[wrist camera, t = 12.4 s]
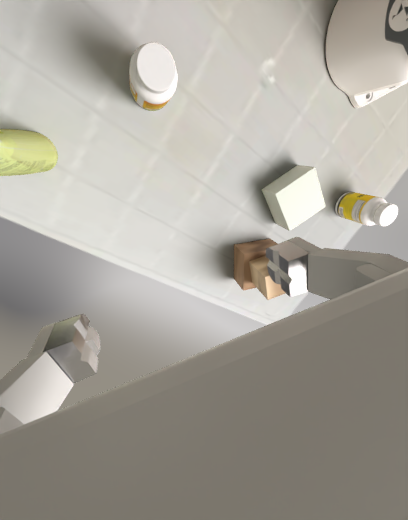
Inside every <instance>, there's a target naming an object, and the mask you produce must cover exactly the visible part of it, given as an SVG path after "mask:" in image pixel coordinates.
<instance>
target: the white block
mask: <svg viewBox="0 0 408 520" xmlns="http://www.w3.org/2000/svg"><path fill="white" fill-rule="evenodd" d="M262 192H263V195H264V197H265V199H266V202H267V204H268V206H269V209H270V211H271V214H272V216H273V218H274V221H275V223H276V224H278V225H279V226H281V227H283V228H285V229H287V230H289V231H291V230H292V229H293V228H295V227H296V226H298V225H299V224H301V223H302V222H304V221H305V220H307V219H308V218H310V217H311V216H313V215H314V214H316V213H317V212H318V211H320V210H321V209H323V208H324V207H326V206H325V202H324V198H323V195H322V191H321V187H320V184H319V180H318V176H317V172H316V169H315V167H310V166H300V165H297V166H295V167H294V168H292V169H291V170H289V171H288V172H286V173H285V174H283V175H282V176H281V177H279V178H278V179H276V180H275V181H273V182H272V183H270V184H269V185H267V186H266V187H264V188H263V189H262Z"/></svg>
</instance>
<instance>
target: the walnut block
mask: <svg viewBox="0 0 408 520" xmlns="http://www.w3.org/2000/svg"><path fill="white" fill-rule="evenodd" d="M274 245H277V243H276V242H274V241H273V240H271V239H264V240H258V241H252V242H247V243H241V244H235V245H234V279H235V281H236V282H237V283H238V284H239V286H240V287H241V288H242V289H243V290H247V289H252V288H256V286H255V285H254V284H253V283H252V278H251V271H250V265H249V261H252V260H254V259H257V258H260V257H263V256H265V255H266V248H269V247H271V246H274Z"/></svg>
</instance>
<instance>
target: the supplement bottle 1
mask: <svg viewBox="0 0 408 520" xmlns="http://www.w3.org/2000/svg"><path fill="white" fill-rule="evenodd" d="M177 82H178V75H177V69H176V65H175V62H174V59H173V57H172V55H171V53H170V52H169V50H168V49H167V48H166V47H164V46H163V45H161V44H159V43H156V42H150V43H147V44H144V45H142V46H140V47H139V48H137V49H136V51H135V52H134V53H133V55H132V57H131V61H130V66H129V83H130V90H131V94H132V96H133V98H134V100H135V101H136V102H137V104H138V105H139V106H141V107H142V108H144V109H146V110H149V111H157V110H159V109H161V108H163V107H164V106H165V105H166V104H167V102H168V101H169V100H170V99H171V97H172V96H173V94H174V92H175V90H176V87H177Z"/></svg>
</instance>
